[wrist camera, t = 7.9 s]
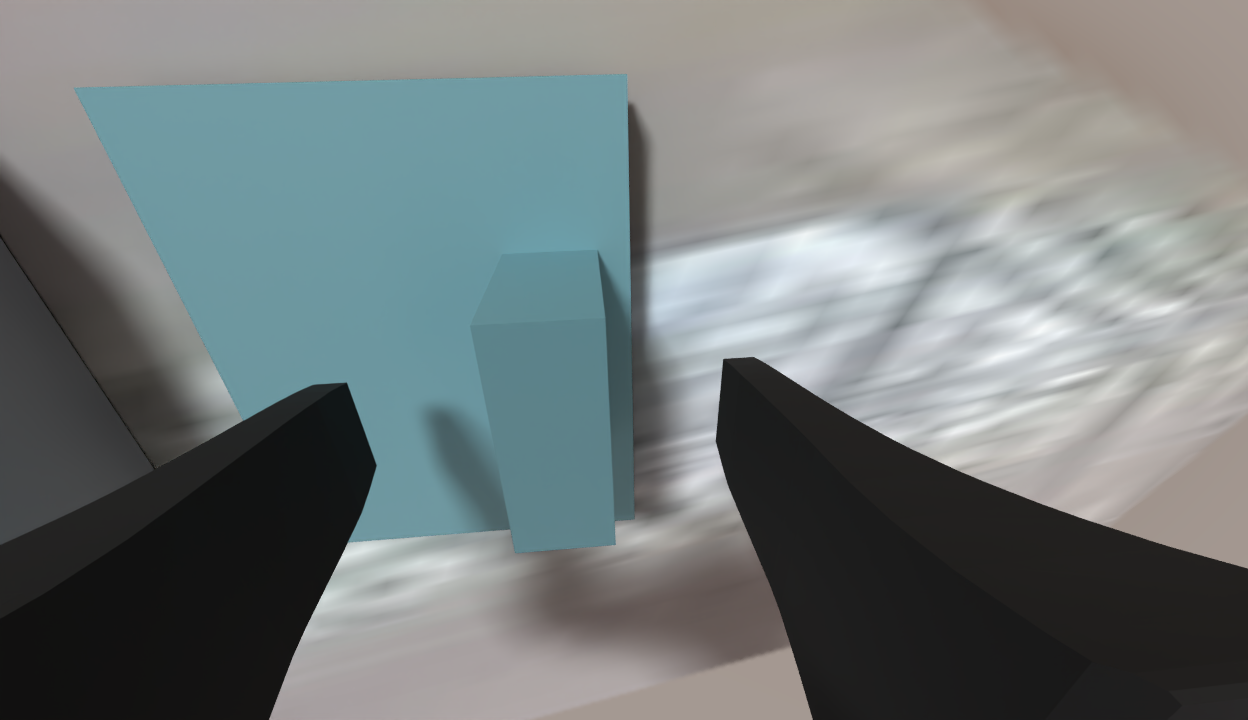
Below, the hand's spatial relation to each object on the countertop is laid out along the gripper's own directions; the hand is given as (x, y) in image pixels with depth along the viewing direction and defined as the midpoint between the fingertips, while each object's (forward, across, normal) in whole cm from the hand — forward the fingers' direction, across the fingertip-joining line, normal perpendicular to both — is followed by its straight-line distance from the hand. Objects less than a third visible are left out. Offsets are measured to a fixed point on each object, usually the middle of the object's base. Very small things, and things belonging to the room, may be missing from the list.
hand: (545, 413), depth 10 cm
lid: (+3, +3, 0) cm, 4 cm away
